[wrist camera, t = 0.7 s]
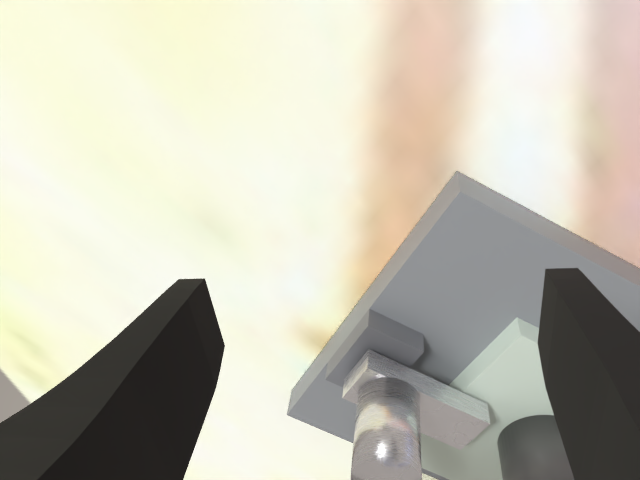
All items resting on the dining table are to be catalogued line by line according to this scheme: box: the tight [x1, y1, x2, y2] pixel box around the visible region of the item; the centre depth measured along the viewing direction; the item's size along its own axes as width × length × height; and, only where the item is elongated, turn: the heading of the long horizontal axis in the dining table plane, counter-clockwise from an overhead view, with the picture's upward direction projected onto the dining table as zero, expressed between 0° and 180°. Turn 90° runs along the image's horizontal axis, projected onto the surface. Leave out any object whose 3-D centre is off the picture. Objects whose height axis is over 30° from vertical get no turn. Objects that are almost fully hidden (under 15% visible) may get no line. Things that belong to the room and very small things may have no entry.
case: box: [287, 171, 640, 480], centre depth 25 cm, size 16×14×2 cm
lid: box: [421, 318, 574, 480], centre depth 24 cm, size 9×9×5 cm
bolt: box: [342, 349, 490, 480], centre depth 22 cm, size 6×2×4 cm, turn 63°
